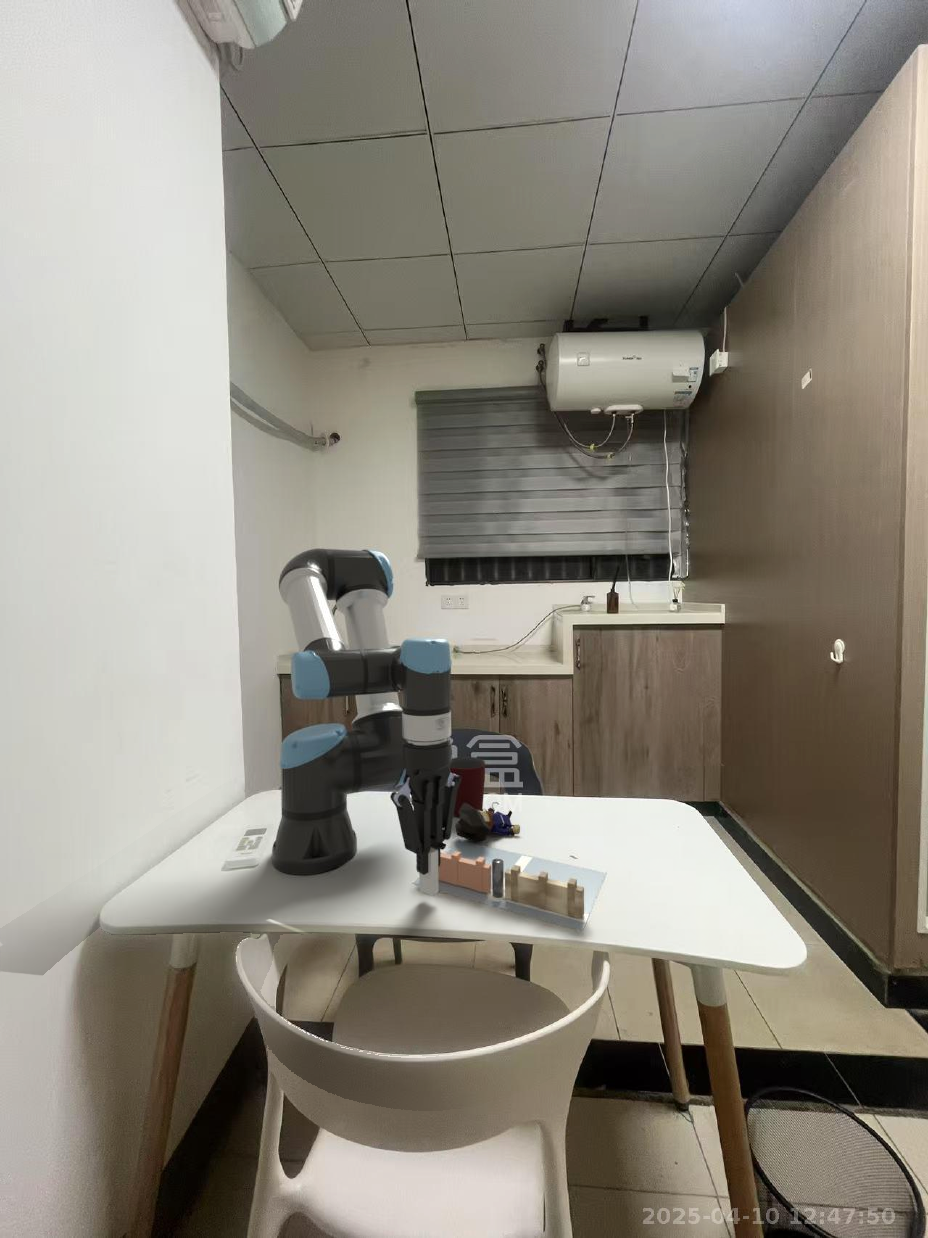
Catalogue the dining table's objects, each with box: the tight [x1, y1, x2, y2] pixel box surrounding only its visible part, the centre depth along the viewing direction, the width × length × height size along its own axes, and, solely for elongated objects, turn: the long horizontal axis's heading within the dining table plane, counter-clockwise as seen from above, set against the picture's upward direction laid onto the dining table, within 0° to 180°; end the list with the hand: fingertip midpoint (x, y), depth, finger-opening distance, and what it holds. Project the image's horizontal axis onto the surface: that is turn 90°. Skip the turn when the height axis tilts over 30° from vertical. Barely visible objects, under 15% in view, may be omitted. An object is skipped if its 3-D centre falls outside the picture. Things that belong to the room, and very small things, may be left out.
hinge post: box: [492, 859, 504, 898], centre depth 79 cm, size 2×2×6 cm
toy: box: [455, 801, 521, 844], centre depth 100 cm, size 9×6×15 cm
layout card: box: [412, 839, 607, 932], centre depth 84 cm, size 28×17×1 cm, turn 63°
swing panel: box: [438, 851, 491, 893], centre depth 82 cm, size 12×2×5 cm, turn 63°
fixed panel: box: [505, 865, 584, 919], centre depth 76 cm, size 12×2×5 cm, turn 63°
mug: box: [449, 756, 486, 819], centre depth 112 cm, size 12×9×11 cm
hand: (429, 890), depth 78 cm, fingers closed
